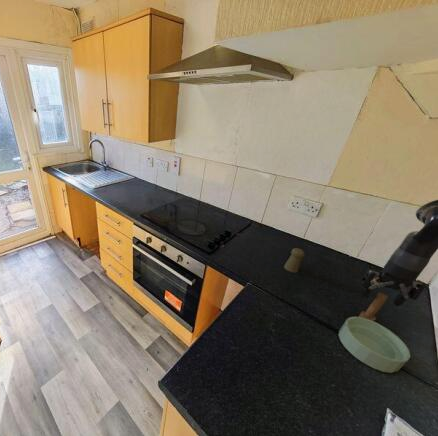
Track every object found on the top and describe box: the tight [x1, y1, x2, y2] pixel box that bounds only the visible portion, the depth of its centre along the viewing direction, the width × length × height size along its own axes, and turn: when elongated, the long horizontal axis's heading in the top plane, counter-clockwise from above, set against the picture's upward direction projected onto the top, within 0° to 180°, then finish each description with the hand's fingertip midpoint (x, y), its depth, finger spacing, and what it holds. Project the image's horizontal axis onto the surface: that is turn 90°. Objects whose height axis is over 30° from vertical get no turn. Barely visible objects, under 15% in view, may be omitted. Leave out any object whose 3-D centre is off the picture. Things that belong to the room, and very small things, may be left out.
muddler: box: [357, 292, 389, 322], centre depth 81 cm, size 4×4×13 cm
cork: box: [283, 247, 306, 274], centre depth 107 cm, size 6×6×11 cm
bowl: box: [338, 316, 411, 374], centre depth 72 cm, size 15×15×6 cm
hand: (379, 299), depth 79 cm, fingers open, 8 cm apart
